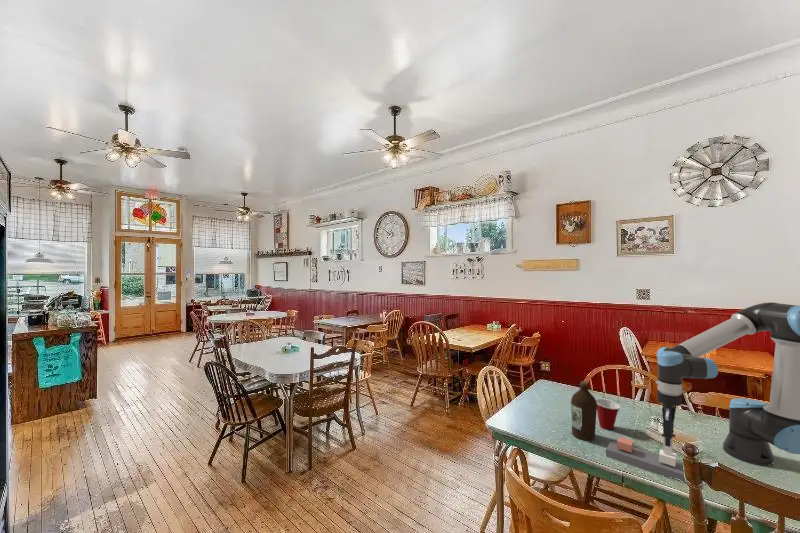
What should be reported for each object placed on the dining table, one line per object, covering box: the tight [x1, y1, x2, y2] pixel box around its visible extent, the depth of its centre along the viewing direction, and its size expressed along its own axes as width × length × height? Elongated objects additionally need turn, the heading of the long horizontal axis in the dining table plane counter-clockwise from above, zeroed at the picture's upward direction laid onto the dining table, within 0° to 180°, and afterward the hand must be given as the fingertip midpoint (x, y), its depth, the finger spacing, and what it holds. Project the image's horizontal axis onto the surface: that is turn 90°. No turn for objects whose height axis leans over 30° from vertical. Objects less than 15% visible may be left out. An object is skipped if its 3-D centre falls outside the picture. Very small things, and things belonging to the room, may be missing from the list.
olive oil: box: [570, 380, 598, 442], centre depth 163 cm, size 11×11×25 cm
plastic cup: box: [595, 398, 621, 431], centre depth 171 cm, size 11×11×12 cm
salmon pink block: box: [616, 436, 635, 453], centre depth 146 cm, size 5×5×3 cm
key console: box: [605, 439, 686, 484], centre depth 141 cm, size 26×10×3 cm, turn 47°
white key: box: [658, 448, 678, 467], centre depth 136 cm, size 5×5×3 cm
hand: (667, 453), depth 136 cm, fingers closed
